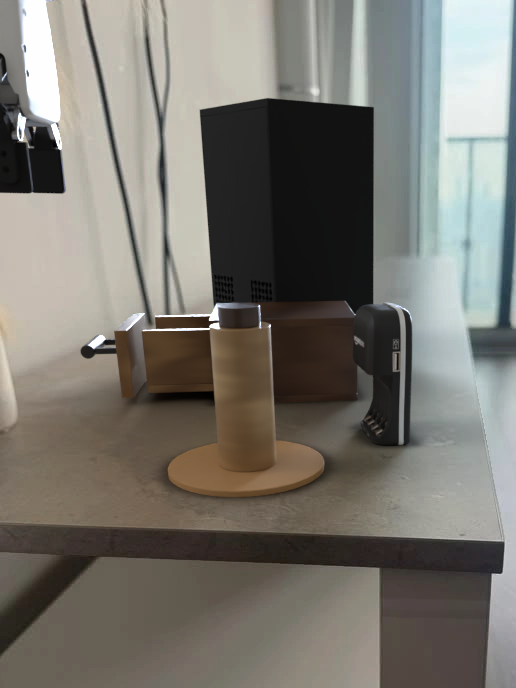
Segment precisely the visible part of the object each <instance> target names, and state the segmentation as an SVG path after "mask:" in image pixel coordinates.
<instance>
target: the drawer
mask: <svg viewBox="0 0 516 688" xmlns="http://www.w3.org/2000/svg"><path fill="white" fill-rule="evenodd" d="M211 315H212V314H181V315H180V314H179V315H178V314H177V315H176V314H175V315H155V316H154V325H155V329H147V325H146V315H145V313H144V312H142V313H140V312H139V313H136V312H135V313H133V314H131V315H130V316H129V317H128V318H127V319H126V320H124V322H122V323H121V324H120V325H119V326H118V327H117V328H115V330H114V331H113V334H114V335H113V336H114V338H105V336H104V335H101V334H96V335H95V336H94V337H92V338H91V339H90V340H89V341H88V342H86V343H85V344H84V345H83V346H82V347H81V348H80V351H79V352H80V355H81V356H82V357H83V358H84V359H87V360H88V359H89V360H91V359H93V358H94V357H95V356H96V355H116V360H117V367H118V368H117V369H118V377H119V384H120V393H121V394H120V395H121V399H134V398H136V396H137V394H138V393H139V391H140V389H141V388H142V387H143V385H144V384H145V382H146V385H147V393H148V394H159V393H160V394H162V393H163V394H164V393H165V394H166V393H195V392H214V387H213V373H212V360H211V346H210V332H209V319H210V317H211ZM105 346H108V347H105Z"/></svg>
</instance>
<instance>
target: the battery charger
mask: <svg viewBox="0 0 516 688" xmlns="http://www.w3.org/2000/svg"><path fill="white" fill-rule="evenodd" d="M353 359H354V362H355V363H356V364H357V367H358V368H360V369H361V370H362V371H363V372H364V373H365V374H367V375H369V376H372V399H371V403H370V405H369V408H368V410H367V412H366V414H365V415H364V418H363V419H362V420H360V428H361V429H362V431H363V432H364V433H365V435H366V436H367V437H368V439H369V440H370V441H371V442H372V443H373V444H375V445H379V446H394V445H397V446H403V445H404V444H405V445H407V444H409V443H410V442H411V405H412V380H413V379H412V378H413V321H412V316H411V314H410V312H409V311H408V310H407V309H406V308H405V307H402V306H400V305H399V304H396V303H391V302H382V303H373V304H369V305H363V306H361V307H360V308H359V309H358V310H357V311H356V314H355V317H354V327H353Z"/></svg>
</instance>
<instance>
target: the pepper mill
mask: <svg viewBox="0 0 516 688" xmlns="http://www.w3.org/2000/svg"><path fill="white" fill-rule="evenodd" d="M218 317H219V323H215V324H212V325H210V327H209V329H210V343H211V356H212V370H213V384H214V391H213V398H214V397H215V398H214V399H215V400H214V410H215V423H216V424H215V425H216V437H217V443H218V451H219V464H220V466H221V467H222V468H224V469H226V470H229V471H235V472H254V471H260V470H264V469H267V468H270V467H272V466H273V465H275V463H276V461H277V459H276V440H277V439H276V416H275V402H274V392H273V369H272V347H271V326H270V324H269V323H266V322H261V318H260V305H259V304H254V303H228V304H222V305H219V306H218Z"/></svg>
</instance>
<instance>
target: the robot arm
mask: <svg viewBox="0 0 516 688" xmlns="http://www.w3.org/2000/svg"><path fill="white" fill-rule="evenodd" d="M53 1H54V0H0V194H32V193H33V194H55V195H56V194H57V195H58V194H59V195H60V194H61V195H63V194H65V193H66V192H67V191H66V190H67V188H66V187H67V186H66V179H65V171H64V160H63V152H62V140H61V137H60V133H59V130H60V128H59V127H60V124H59V121H60V119H61V118H60V117H61V107H60V104H61V103H60V93H59V92H60V91H59V85H58V75H57V68H56V61H55V53H54V47H53V39H52V34H51V31H52V30H51V27H50V21H49V16H48V10H47V9H48V8H47V4H46V3H51V2H53ZM34 128H35V129H34ZM24 136H25V138H26V141H27V142H26V141H23V138H24Z"/></svg>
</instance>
